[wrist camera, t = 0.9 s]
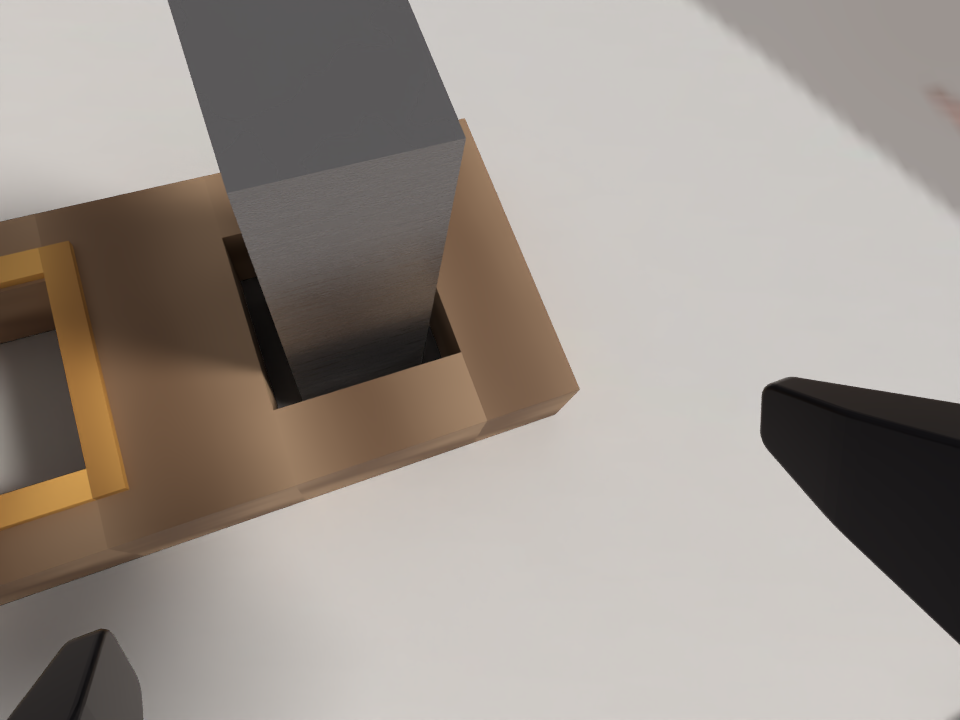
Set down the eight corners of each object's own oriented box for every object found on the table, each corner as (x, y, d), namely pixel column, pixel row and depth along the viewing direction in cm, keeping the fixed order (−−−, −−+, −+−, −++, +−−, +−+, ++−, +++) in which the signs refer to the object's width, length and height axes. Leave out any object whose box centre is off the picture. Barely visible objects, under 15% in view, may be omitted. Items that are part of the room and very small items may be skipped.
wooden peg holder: (455, 169, 26) (465, 112, 23) (555, 414, 24) (582, 386, 20) (-230, 334, 21) (-335, 288, 18) (-196, 673, 18) (-313, 688, 15)
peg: (383, 265, 24) (390, -41, 13) (420, 367, 23) (465, 137, 12) (269, 295, 24) (166, -5, 12) (303, 404, 22) (226, 192, 11)
